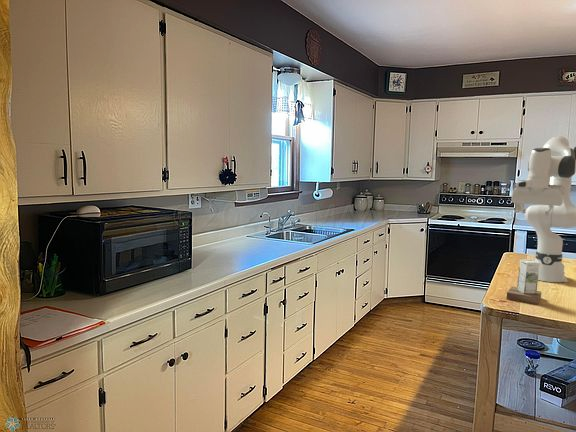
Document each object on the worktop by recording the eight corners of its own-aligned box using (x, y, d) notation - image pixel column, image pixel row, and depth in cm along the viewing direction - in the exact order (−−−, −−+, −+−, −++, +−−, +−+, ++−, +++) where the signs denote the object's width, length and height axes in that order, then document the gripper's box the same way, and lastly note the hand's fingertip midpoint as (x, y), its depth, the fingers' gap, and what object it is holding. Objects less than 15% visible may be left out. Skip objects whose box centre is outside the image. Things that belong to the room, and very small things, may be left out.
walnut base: (511, 292, 200) (511, 286, 199) (540, 298, 193) (541, 291, 192) (506, 298, 190) (506, 292, 190) (537, 304, 183) (537, 298, 183)
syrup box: (529, 290, 194) (532, 259, 192) (536, 294, 188) (540, 262, 186) (516, 290, 194) (519, 258, 192) (524, 294, 188) (527, 261, 186)
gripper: (565, 184, 190) (562, 215, 192) (514, 182, 202) (512, 211, 204) (564, 185, 185) (561, 217, 187) (512, 183, 197) (509, 212, 199)
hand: (535, 214), depth 196 cm, fingers open, 8 cm apart
